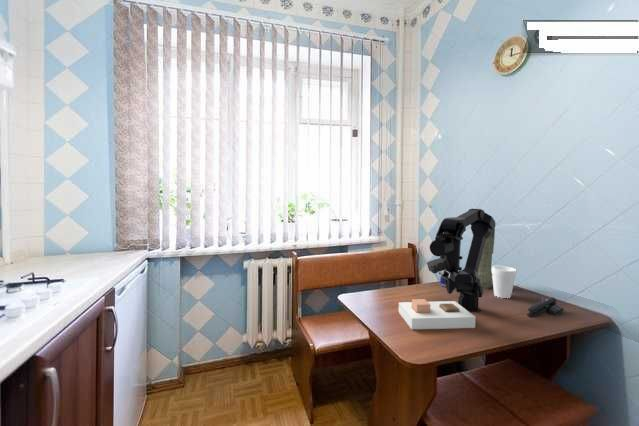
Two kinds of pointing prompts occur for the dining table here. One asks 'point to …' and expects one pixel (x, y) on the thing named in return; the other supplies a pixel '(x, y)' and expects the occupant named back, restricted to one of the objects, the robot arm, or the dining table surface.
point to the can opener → (545, 307)
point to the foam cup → (503, 280)
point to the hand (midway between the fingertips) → (449, 293)
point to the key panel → (437, 317)
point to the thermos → (486, 262)
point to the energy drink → (442, 281)
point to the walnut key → (449, 308)
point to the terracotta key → (420, 306)
